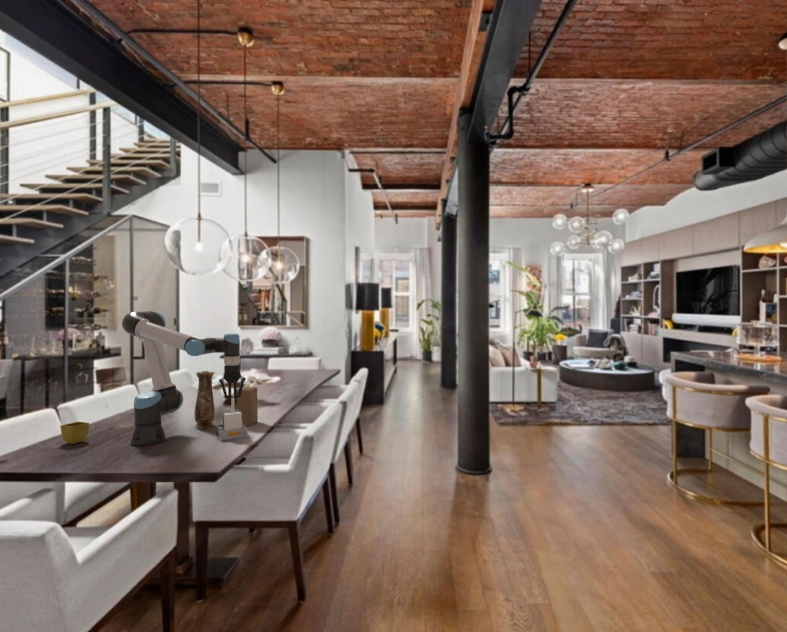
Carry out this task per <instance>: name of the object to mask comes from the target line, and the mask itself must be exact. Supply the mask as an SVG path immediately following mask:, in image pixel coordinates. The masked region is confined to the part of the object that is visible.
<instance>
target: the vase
mask: <svg viewBox="0 0 787 632" xmlns="http://www.w3.org/2000/svg"><path fill="white" fill-rule="evenodd" d="M215 373H216V372H215V371H209V370H203V371H198V372H195V374H196V377H197V378H198V385H197V387H198V388H197V393H196V402H195V406H194V419H195V420H194V421H195V423H196V425H195V428H197V429H207V428H212V427H213V426H214V425H213V422H214V420H215V415H216V413H215V412H216V410H215V403H214V402H215V401H214V395H213V393H214V392H213V381H212V380H213V377H214V374H215Z"/></svg>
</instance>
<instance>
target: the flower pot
mask: <svg viewBox="0 0 787 632" xmlns="http://www.w3.org/2000/svg"><path fill="white" fill-rule="evenodd" d="M59 427H60V431H61V432H60V433H61V437H62V439H63V441H64V442H65V443H66V444H72V445H75V444H77V443H78V442H79V443H83V442H84V441H85V440H86V438H87V437H88V434H89V427H90V422H85V421H75V422H70V423H67V424H66V423H65V424H61V425H60V426H59Z"/></svg>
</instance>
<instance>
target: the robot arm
mask: <svg viewBox="0 0 787 632" xmlns="http://www.w3.org/2000/svg"><path fill="white" fill-rule="evenodd" d="M166 324H167V323H166V319H165V318H164V315H163V314H161V313H160V312H157V311H151V310H148V311H147V310H146V311H132V312H129V313H126V315H124V317H123V319H122V321H121V326H122V329H123V330H124V332H126V333H127V334H128V335H130V336H133V337H136V338H138V340H140V341H141V342H142V343H143V348H144V352H145V356H146V361H147V365H148V368H149V374H150V377H151V383H152V386H153V387H152V389H151V390H150V391H147V392H141V393H139V394H137V395H136V396H135V397H134V400H133V416H134V417H133V418H134V419H133V420H134V423H133V424H134V427H133V431H132V433H131V436H130V445H132V446H135V447H136V446H140V447H142V446H151V445H155V444H157V445H158V444H159V443H162V442H164V441H166V439H167V438H166V432H165V430H164V427H163V424H162V417H163V416H165V415H168V414H171V413H172V414H173V413H174V412H176V411H178V410H180V408H181V407H182V405H183V402H184V396H183V392H182V391H181V390H179V389H177V387H176V384H175V383H173V382H172V379H171V376H170V375H171V374H170V370H169V366H168V362H167V358H166V352H165V349H164V348H165V347H164V345H167V346H169V347H172V348H176V349H178V350H181V351H184V352H186V353H187V355H188V356H191V357H198V356H202V355H209V354H213V353H214V354H215V353H217V354H220V353H223V364H224V366H223V367H224V368H223V376H222V377H221V378H219V379H218V382H219V383H220V386H221V388H222V391H223V396H224V398H225V399H228V402H227V403H228V406H230V410H231V412H235V405H236V404H237V398H238V397H240V396H241V392H242V388H243V387H244V383H245V381H246V377H244V376H242V373H241V365H240V364H241V359H240V358H241V356H240V354H241V353H240V352H241V351H240V350H241V349H240V348H241V347H240V346H241V341H240V340H241V339H240V335H239V334H238V333H225V334H224V335H223V337H203V338H201V339H200V338H197V337H194V336H191V335H188V334H185V333H182V332H179V331H176V330H173V329H170V328H167V327H166ZM239 381H240V382H239ZM224 382H226V383H227V385H228V386H227V389H228V390H227V389H226V386H225V383H224ZM238 382H239V387H238V386H237V385H238ZM232 384H233V397H232ZM237 387H238V388H239V390H238V394H237V389H238V388H237ZM227 391H228V392H227Z"/></svg>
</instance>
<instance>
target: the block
mask: <svg viewBox="0 0 787 632" xmlns="http://www.w3.org/2000/svg"><path fill="white" fill-rule="evenodd" d="M238 390H239V387H238V388H237V394H238ZM235 409H239V411H240V412H241V413H242V422H243V425H244V424H245V427H246V426H247V427H248V426H249V427H251V426H252V425H254V424H256V423H257V422H258V419H259V418H258V416H259V415H258V413H259V412H258V410H259V409H258V387H256V386H255V387H254V386H243V388H242V392H241V396H240V397H238V398H237V404H236V405H235Z"/></svg>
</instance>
